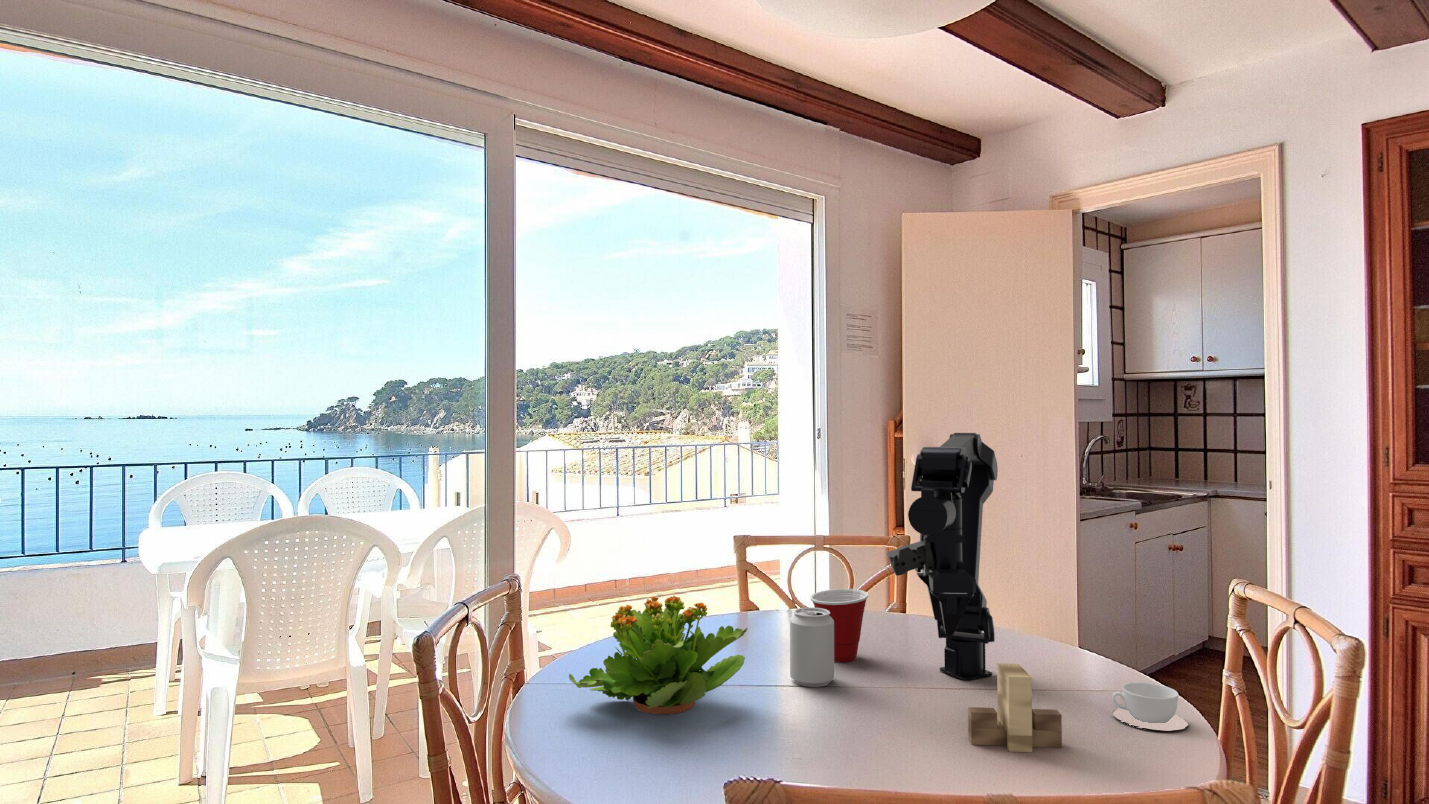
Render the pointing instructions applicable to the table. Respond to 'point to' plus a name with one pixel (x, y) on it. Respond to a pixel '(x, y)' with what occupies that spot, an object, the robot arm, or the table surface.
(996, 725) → the lower notched wooden block
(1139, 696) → the teacup
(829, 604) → the plastic cup
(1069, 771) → the table surface
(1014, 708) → the tall wooden block
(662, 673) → the potted flower
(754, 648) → the table surface
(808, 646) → the can
